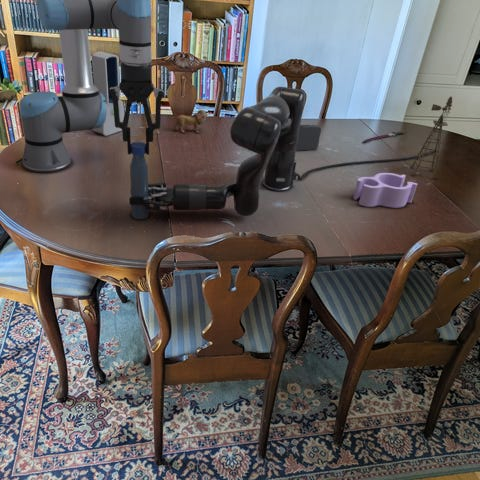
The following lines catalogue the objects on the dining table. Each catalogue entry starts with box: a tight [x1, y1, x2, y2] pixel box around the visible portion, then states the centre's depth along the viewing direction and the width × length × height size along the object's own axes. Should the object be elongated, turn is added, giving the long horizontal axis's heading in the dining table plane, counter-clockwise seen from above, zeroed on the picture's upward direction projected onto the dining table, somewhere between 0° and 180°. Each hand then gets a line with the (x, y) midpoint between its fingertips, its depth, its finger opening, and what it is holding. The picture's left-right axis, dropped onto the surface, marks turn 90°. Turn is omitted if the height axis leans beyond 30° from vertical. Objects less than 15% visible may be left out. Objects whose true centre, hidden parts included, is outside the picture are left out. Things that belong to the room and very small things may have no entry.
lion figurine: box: [171, 109, 207, 134], centre depth 196 cm, size 15×5×9 cm, turn 110°
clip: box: [352, 172, 418, 209], centre depth 158 cm, size 20×12×7 cm, turn 109°
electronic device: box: [91, 51, 125, 137], centre depth 182 cm, size 12×8×30 cm, turn 148°
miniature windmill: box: [410, 96, 453, 179], centre depth 175 cm, size 9×8×30 cm
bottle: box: [129, 154, 150, 220], centre depth 131 cm, size 5×5×21 cm
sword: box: [363, 131, 407, 144], centre depth 214 cm, size 31×3×1 cm, turn 126°
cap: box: [130, 141, 146, 156], centre depth 126 cm, size 4×4×2 cm
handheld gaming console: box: [296, 124, 322, 151], centre depth 189 cm, size 23×3×10 cm, turn 108°
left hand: (138, 152), depth 126 cm, fingers closed on cap, 4 cm apart
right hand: (130, 196), depth 133 cm, fingers closed on bottle, 5 cm apart
